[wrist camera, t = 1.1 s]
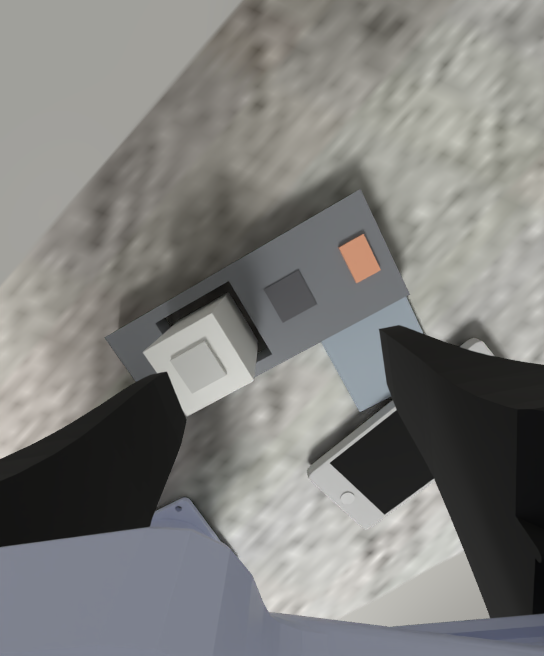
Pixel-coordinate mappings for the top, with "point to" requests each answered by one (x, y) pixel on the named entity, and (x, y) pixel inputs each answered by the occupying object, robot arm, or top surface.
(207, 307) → the charger plug
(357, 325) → the sticky note
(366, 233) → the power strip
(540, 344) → the top surface
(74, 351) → the top surface
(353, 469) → the smartphone
